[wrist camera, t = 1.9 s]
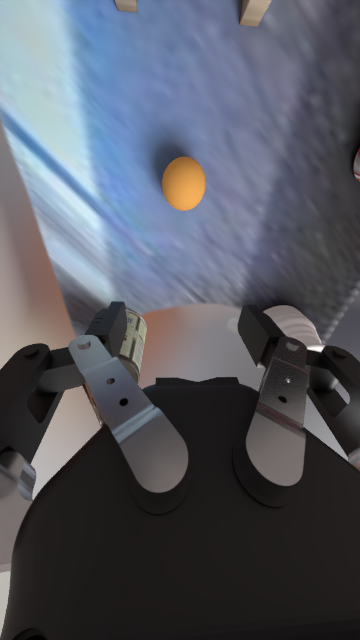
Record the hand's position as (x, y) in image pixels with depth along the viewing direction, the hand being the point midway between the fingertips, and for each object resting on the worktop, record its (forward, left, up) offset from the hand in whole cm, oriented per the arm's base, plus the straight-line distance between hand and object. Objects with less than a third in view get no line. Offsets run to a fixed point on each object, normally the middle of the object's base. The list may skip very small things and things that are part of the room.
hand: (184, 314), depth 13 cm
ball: (-8, +1, -21) cm, 22 cm away
